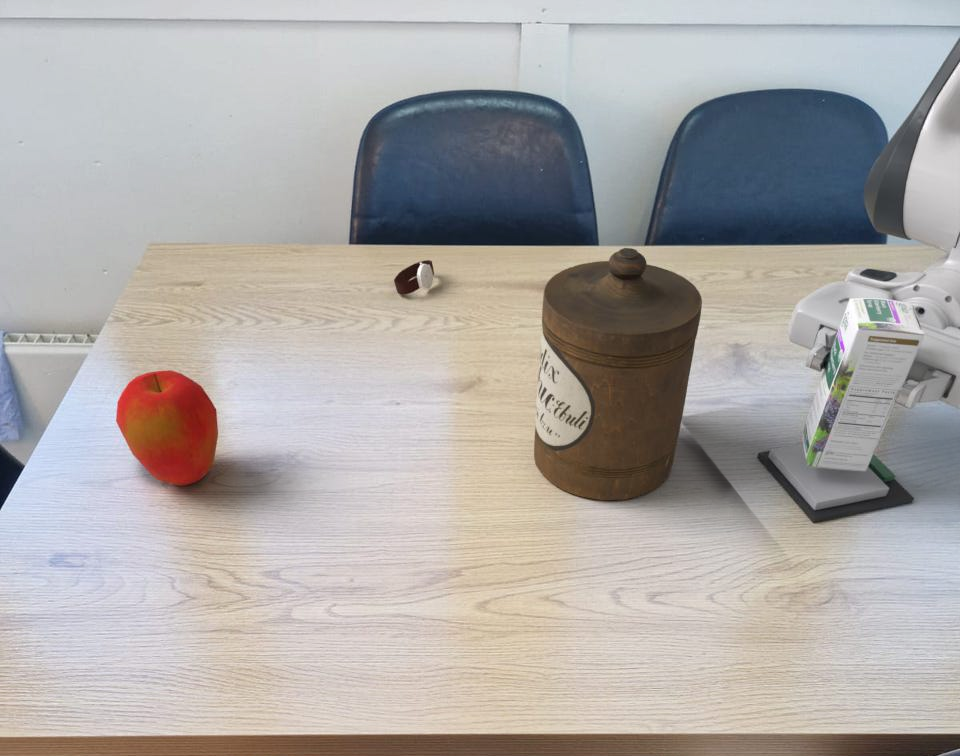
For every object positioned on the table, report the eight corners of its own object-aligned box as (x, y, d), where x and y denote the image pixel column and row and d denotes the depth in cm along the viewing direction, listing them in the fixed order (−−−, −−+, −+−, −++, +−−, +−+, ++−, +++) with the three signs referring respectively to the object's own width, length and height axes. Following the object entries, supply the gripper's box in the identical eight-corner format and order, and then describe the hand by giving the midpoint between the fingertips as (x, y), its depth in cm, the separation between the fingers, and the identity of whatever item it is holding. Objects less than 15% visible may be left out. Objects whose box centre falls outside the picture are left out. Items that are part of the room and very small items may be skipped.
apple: (121, 491, 88) (81, 387, 79) (173, 443, 94) (142, 341, 85) (198, 513, 86) (167, 408, 77) (247, 463, 91) (223, 359, 83)
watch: (416, 302, 116) (415, 275, 113) (386, 295, 117) (384, 268, 114) (442, 279, 120) (442, 252, 118) (413, 272, 122) (411, 246, 119)
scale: (844, 454, 93) (854, 427, 91) (905, 517, 86) (918, 489, 83) (752, 471, 91) (760, 444, 88) (808, 537, 84) (818, 510, 81)
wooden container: (524, 422, 97) (535, 220, 80) (654, 416, 98) (690, 215, 81) (543, 505, 87) (559, 294, 71) (687, 498, 88) (736, 288, 72)
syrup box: (799, 434, 87) (845, 294, 76) (860, 439, 86) (915, 299, 75) (805, 468, 83) (855, 326, 72) (869, 473, 82) (928, 332, 72)
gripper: (1016, 393, 82) (955, 456, 75) (822, 320, 92) (752, 370, 85) (1049, 331, 77) (987, 392, 71) (841, 261, 87) (768, 309, 80)
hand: (857, 379), depth 78 cm, fingers closed on syrup box, 7 cm apart
